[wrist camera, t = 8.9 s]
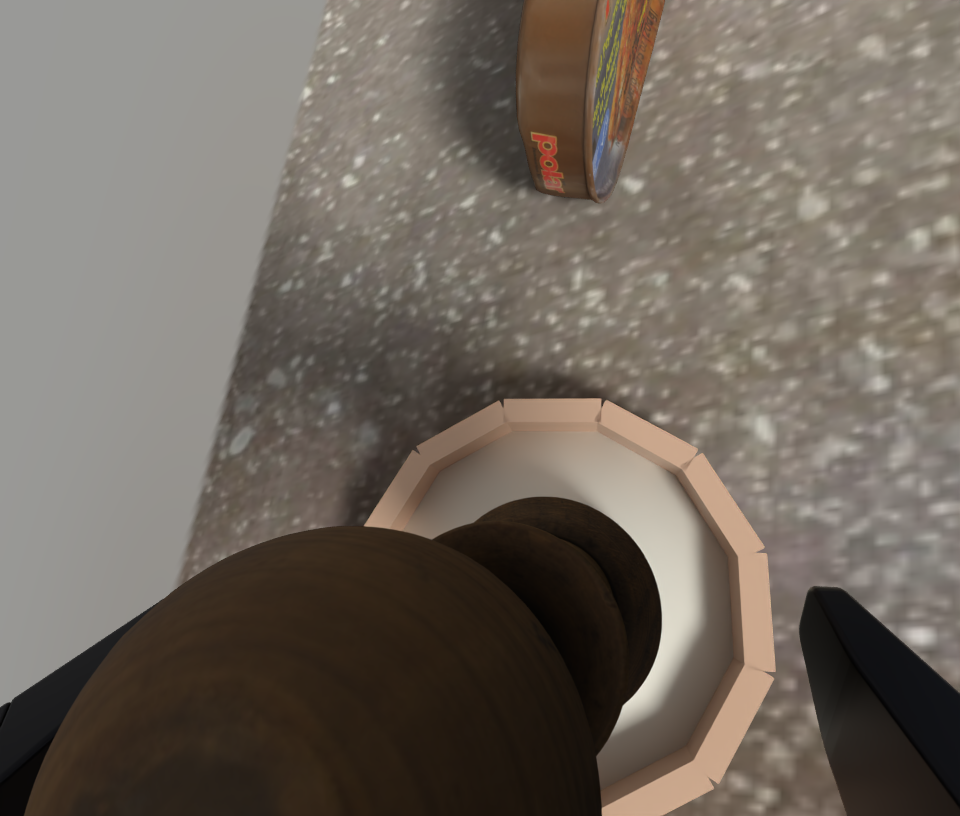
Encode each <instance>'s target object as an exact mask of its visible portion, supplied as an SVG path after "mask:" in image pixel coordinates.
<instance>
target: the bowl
mask: <svg viewBox="0 0 960 816" xmlns="http://www.w3.org/2000/svg"><path fill="white" fill-rule="evenodd" d="M416 447H417V449H418V451H419V453H420V454H419V453H417V452H415V451H414V450H412V452H411V453H410V455H409V456H408V458H407V459H406V461H405V462H404V464H403V466H402V467H401V469H400V470H399V472H398V473H397V475H396V477H395V478H394V480H393V481H392V483H391V484H390V486H389V487H388V489H387V491H386V492H385V494H384V495H383V497H382V498H381V500H380V501H379V503H378V505H377V506H376V508H375V509H374V511H373V512H372V514H371V516H370V517H369V519H368V520H367V522H366V523H365V525H364V526H368V527H379V528H387V529H394V530H398V531H404V532H409V533H412V534H416V535H419V536H422V537H425V538H428V539H431V540H432V539H433V538H435V537H437V536H439V535H441V534H443V533H445V532H447V531H450V530H452V529H454V528H457V527H460V526H463V525H467V524H471V523H474V522H475V521H476V520H477V519H479V518H480V517H481V516H483V515H484V514H486V513H487V512H489V511H491V510H492V509H494V508H496V507H498V506H500V505H503V504H505V503H508V502H511V501H514V500H518V499H523V498H529V497H559V498H565V499H570V500H574V501H577V502H580V503H583V504H586V505H588V506H590V507H592V508H594V509H596V510H598V511H600V512H602V513H603V514H605V515H606V516H608V517H609V518H611V519H612V520H613V521H615V522H616V523H617V524H618V525H620V526H621V527H622V528H623V529H624V530H625V531H626V532H627V533H628V534H629V535H630V536H631V538H632V539H633V540H634V541H635V542H636V544H637V545H638V546H639V548H640V549H641V551H642V552H643V554H644V556H645V557H646V559H647V561H648V563H649V565H650V567H651V569H652V572H653V574H654V577H655V580H656V583H657V586H658V590H659V594H660V600H661V608H662V632H661V640H660V645H659V650H658V653H657V656H656V659H655V662H654V664H653V667H652V669H651V671H650V673H649V675H648V676H647V678H646V680H645V681H644V683H643V684H642V686H641V687H640V688H639V690H638V691H637V692H636V693H635V694H634V696H633V697H632V698H631V699H630V700H629V701H627V702H626V703H625V704H624V705H623V707H622V710H621V713H620V716H619V718H618V721H617V723H616V725H615V727H614V729H613V731H612V733H611V735H610V737H609V739H608V741H607V742H606V744H605V745H604V747H603V748H602V750H601V751H600V752H599V754H598V755H597V756H596V759H597V765H598V772H599V780H600V790H601V803H602V816H662V815H664V814H666V813H668V812H670V811H672V810H674V809H676V808H678V807H680V806H681V805H683V804H685V803H687V802H689V801H691V800H693V799H695V798H697V797H699V796H701V795H703V794H705V793H707V792H709V791H710V790H712V789H714V787H713V785H712V784H711V782H710V780H709V778H711V779H712V780H714V781H715V782H716V783H718V784H719V783H720V781H721V779H722V777H723V775H724V773H725V771H726V769H727V767H728V765H729V764H730V762H731V760H732V758H733V756H734V754H735V752H736V750H737V748H738V746H739V745H740V743H741V741H742V739H743V737H744V735H745V733H746V731H747V729H748V727H749V726H750V724H751V722H752V720H753V718H754V716H755V714H756V712H757V710H758V709H759V707H760V705H761V703H762V701H763V699H764V697H765V695H766V693H767V691H768V690H769V688H770V686H771V684H772V682H773V680H774V678H773V677H772V676H770V675H768V674H767V673H765V672H764V671H769V672H776V670H775V656H774V642H773V628H772V615H771V601H770V587H769V573H768V560H767V553H756V552H757V551H759V550H761V549H763V548H765V547H764V545H763V544H762V542H761V541H760V539H759V538H758V536H757V535H756V533H755V532H754V530H753V529H752V527H751V526H750V524H749V523H748V521H747V519H746V518H745V516H744V515H743V513H742V512H741V510H740V509H739V507H738V506H737V504H736V503H735V501H734V500H733V498H732V497H731V495H730V494H729V492H728V491H727V489H726V488H725V486H724V485H723V483H722V482H721V480H720V479H719V477H718V476H717V474H716V473H715V471H714V469H713V468H712V466H711V465H710V463H709V462H708V460H707V459H706V457H705V456H704V454H703V453H702V454H700V455H698V456H696V457H694V456H695V454H696V452H697V451H698V449H697V448H695V447H693V446H692V445H690V444H688V443H686V442H684V441H682V440H680V439H679V438H677V437H675V436H673V435H671V434H669V433H667V432H666V431H664V430H662V429H660V428H658V427H656V426H654V425H653V424H651V423H649V422H647V421H645V420H643V419H641V418H639V417H638V416H636V415H634V414H632V413H630V412H628V411H626V410H625V409H623V408H621V407H619V406H617V405H615V404H613V403H612V402H610V401H608V400H606V401H605V403H604V404H603V406H602V408H601V398H586V399H504V408H503V406H502V405H501V403H500V401H497V402H495V403H493V404H491V405H490V406H488V407H486V408H484V409H482V410H481V411H479V412H477V413H475V414H473V415H472V416H470V417H468V418H466V419H464V420H463V421H461V422H459V423H457V424H455V425H454V426H452V427H450V428H448V429H446V430H445V431H443V432H441V433H439V434H438V435H436V436H434V437H432V438H430V439H429V440H427V441H425V442H423V443H421V444H420V445H418V446H416ZM708 777H709V778H708Z"/></svg>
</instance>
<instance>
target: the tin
mask: <svg viewBox="0 0 960 816" xmlns="http://www.w3.org/2000/svg"><path fill="white" fill-rule="evenodd" d="M664 3H665V0H524V3H523V9H522V15H521V22H520V29H519V36H518V48H517V63H516V107H517V120H518V126H519V131H520V134H521V137H522V140H523V143H524V147H525V151H526V156H527V161H528V165H529V169H530V173H531V175H532V178H533V181H534V183H535V188H536V190H538V191H539V192H541V193H544V194H549V195H554V196H561V197H571V198H581V199H591V200H593V201H594V202H596V203H604V202H605V201H606V200H607V199H608V198H609V197H610V196H611V194H612V192H613V190H614V188H615V185H616V183H617V180H618V177H619V174H620V170H621V168H622V165H623V161H624V158H625V154H626V150H627V146H628V143H629V139H630V135H631V131H632V127H633V123H634V119H635V115H636V111H637V108H638V104H639V99H640V96H641V92H642V88H643V84H644V80H645V77H646V73H647V69H648V65H649V61H650V58H651V54H652V50H653V46H654V42H655V38H656V35H657V31H658V27H659V23H660V19H661V15H662V11H663V6H664Z"/></svg>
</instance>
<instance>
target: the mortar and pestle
mask: <svg viewBox="0 0 960 816" xmlns="http://www.w3.org/2000/svg"><path fill="white" fill-rule="evenodd" d="M661 632H662V608H661V600H660V594H659V590H658V586H657V583H656V580H655V577H654V574H653V572H652V569H651V567H650V565H649V563H648V561H647V559H646V557H645V556H644V554H643V552H642V551H641V549H640V548H639V546H638V545H637V544H636V542H635V541H634V540H633V539H632V538H631V536H630V535H629V534H628V533H627V532H626V531H625V530H624V529H623V528H622V527H621V526H620V525H618V524H617V523H616V522H615V521H613V520H612V519H611V518H609V517H608V516H606V515H605V514H603V513H602V512H600V511H598V510H596V509H594V508H592V507H590V506H588V505H586V504H583V503H580V502H577V501H574V500H570V499H565V498H559V497H529V498H523V499H518V500H514V501H511V502H508V503H505V504H503V505H500V506H498V507H496V508H494V509H492V510H491V511H489V512H487V513H486V514H484V515H483V516H481V517H480V518H479V519H477V520H476V521H475V522H474V523H471V524H467V525H463V526H460V527H457V528H454V529H452V530H450V531H447V532H445V533H443V534H441V535H439V536H437V537H435V538H433V539H432V540H431V539H428V538H425V537H422V536H419V535H416V534H412V533H409V532H404V531H398V530H394V529H387V528H379V527H368V526H336V527H326V528H319V529H314V530H308V531H303V532H298V533H293V534H289V535H285V536H281V537H278V538H275V539H272V540H269V541H266V542H263V543H260V544H258V545H255V546H252V547H250V548H247V549H245V550H242V551H240V552H238V553H235V554H233V555H231V556H229V557H227V558H225V559H223V560H221V561H219V562H217V563H216V564H214V565H212V566H211V567H209V568H207V569H205V570H204V571H202V572H201V573H199V574H197V575H196V576H194V577H193V578H191V579H190V580H188V581H187V582H185V583H184V584H182V585H181V586H180V587H178V588H177V589H175V590H174V591H173V592H172V593H170V594H169V595H168V596H167V597H166V598H164V599H163V600H162V601H161V602H159V603H158V604H157V605H156V606H155V607H153V608H152V609H151V610H150V611H149V612H148V613H147V614H146V615H145V616H144V617H143V618H141V619H140V620H139V621H138V622H137V623H136V624H135V625H134V626H133V627H132V628H131V629H130V630H129V631H128V632H126V633H125V634H124V635H123V636H122V638H121V639H120V640H119V641H118V642H117V643H116V644H115V646H114V647H113V648H112V649H111V651H110V652H109V653H108V655H107V656H106V657H105V659H104V660H103V661H102V663H101V664H100V665H99V667H98V668H97V669H96V671H95V672H94V673H93V675H92V676H91V678H90V679H89V680H88V682H87V683H86V684H85V686H84V687H83V689H82V690H81V692H80V693H79V695H78V697H77V698H76V700H75V701H74V703H73V705H72V706H71V708H70V710H69V711H68V713H67V715H66V717H65V718H64V720H63V722H62V724H61V726H60V728H59V729H58V731H57V733H56V735H55V737H54V739H53V741H52V743H51V745H50V747H49V749H48V751H47V754H46V756H45V758H44V760H43V763H42V765H41V768H40V770H39V772H38V775H37V777H36V780H35V783H34V786H33V789H32V791H31V794H30V797H29V801H28V804H27V807H26V810H25V814H24V816H602V803H601V790H600V780H599V772H598V765H597V759H596V756H597V755H598V754H599V752H600V751H601V750H602V748H603V747H604V745H605V744H606V742H607V741H608V739H609V737H610V735H611V733H612V731H613V729H614V727H615V725H616V723H617V721H618V718H619V716H620V713H621V710H622V707H623V705H624V704H625V703H626V702H627V701H629V700H630V699H631V698H632V697H633V696H634V694H635V693H636V692H637V691H638V690H639V688H640V687H641V686H642V684H643V683H644V681H645V680H646V678H647V676H648V675H649V673H650V671H651V669H652V667H653V664H654V662H655V659H656V656H657V653H658V650H659V645H660V640H661Z"/></svg>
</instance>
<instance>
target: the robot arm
mask: <svg viewBox="0 0 960 816" xmlns="http://www.w3.org/2000/svg"><path fill="white" fill-rule="evenodd" d="M162 600H163V599H162ZM162 600H161V601H162ZM161 601H159V602H161ZM159 602H158V603H159ZM158 603H156V604H155V605H153V606H152V607H150V608H149V609H147V610H146V611H144V612H143V613H141V614H140V615H139V616H137V617H135V618H134V619H132V620H131V621H130V622H128V623H127V624H125V625H124V626H122V627H120V628H119V629H117V630H116V631H114V632H113V633H111V634H110V635H108V636H107V637H105V638H104V639H102V640H101V641H99V642H98V643H96V644H95V645H93V646H92V647H90V648H89V649H87V650H86V651H84V652H83V653H81V654H80V655H78V656H77V657H75V658H74V659H72V660H71V661H69V662H68V663H66V664H65V665H63V666H62V667H60V668H59V669H57V670H56V671H54V672H53V673H51V674H50V675H48V676H47V677H45V678H44V679H42V680H41V681H39V682H38V683H36V684H35V685H33V686H32V687H30V688H29V689H27V690H26V691H24V692H23V693H21V694H20V695H18V696H17V697H15V698H14V699H13V700H12V702H11V703H10V702H9V703H6V704H4V705H3V706H1V707H0V816H24V814H25V810H26V807H27V804H28V801H29V797H30V794H31V791H32V789H33V786H34V783H35V780H36V777H37V775H38V772H39V770H40V768H41V765H42V763H43V760H44V758H45V756H46V754H47V751H48V749H49V747H50V745H51V743H52V741H53V739H54V737H55V735H56V733H57V731H58V729H59V728H60V726H61V724H62V722H63V720H64V718H65V717H66V715H67V713H68V711H69V710H70V708H71V706H72V705H73V703H74V701H75V700H76V698H77V697H78V695H79V693H80V692H81V690H82V689H83V687H84V686H85V684H86V683H87V682H88V680H89V679H90V678H91V676H92V675H93V673H94V672H95V671H96V669H97V668H98V667H99V665H100V664H101V663H102V661H103V660H104V659H105V657H106V656H107V655H108V653H109V652H110V651H111V649H112V648H113V647H114V646H115V644H116V643H117V642H118V641H119V640H120V639H121V638H122V636H123V635H124V634H125V633H126V632H128V631H129V630H130V629H131V628H132V627H133V626H134V625H135V624H136V623H137V622H138V621H139V620H140V619H141V618H143V617H144V616H145V615H146V614H147V613H148V612H149V611H150V610H151V609H152V608H153V607H155V606H156V605H157V604H158ZM799 635H800V642H801V646H802V651H803V656H804V660H805V665H806V669H807V674H808V678H809V683H810V687H811V692H812V696H813V701H814V705H815V710H816V714H817V719H818V724H819V728H820V732H821V736H822V740H823V744H824V748H825V751H826V754H827V757H828V761H829V764H830V767H831V770H832V773H833V776H834V779H835V781H836V784H837V787H838V790H839V793H840V796H841V799H842V802H843V805H844V808H845V811H846V814H847V816H960V693H959V692H958V691H957V690H956V689H954V688H953V687H952V686H951V685H950V684H949V683H948V682H947V681H946V680H944V679H943V678H942V677H941V676H940V675H939V674H938V673H937V672H935V671H934V670H933V669H932V668H931V667H930V666H929V665H928V664H927V663H925V662H924V661H923V660H922V659H921V658H920V657H919V656H918V655H916V654H915V653H914V652H913V651H912V650H911V649H910V648H909V647H908V646H906V645H905V644H904V643H903V642H902V641H901V640H900V639H899V638H897V637H896V636H895V635H894V634H893V633H892V632H891V631H890V630H889V629H887V628H886V627H885V626H884V625H883V624H882V623H881V622H880V621H878V620H877V619H876V618H875V617H874V616H873V615H872V614H871V613H870V612H868V611H867V610H866V609H865V608H864V607H863V606H862V605H861V604H859V603H858V602H857V601H856V600H855V599H854V598H853V597H852V596H851V595H849V594H848V593H847V592H846V591H845V590H843V589H841V588H838V587H820V586H814V587H811V588H810V589H809V590H808V592H807V596H806V600H805V604H804V608H803V612H802V616H801V620H800V625H799Z"/></svg>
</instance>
